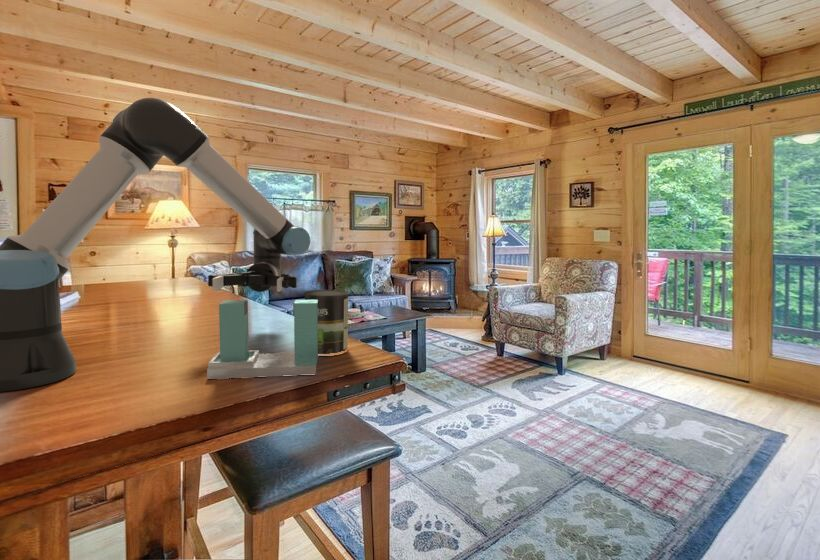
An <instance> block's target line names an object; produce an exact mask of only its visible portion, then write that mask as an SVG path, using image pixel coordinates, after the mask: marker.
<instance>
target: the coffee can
mask: <svg viewBox="0 0 820 560" xmlns="http://www.w3.org/2000/svg"><path fill="white" fill-rule="evenodd" d="M349 293H350V292H348V291H345V290H341V289H340V290H339V289H314V290H307V291H305V292H304V293H303V295H304V300H318V354H330V353H338V352H341V351H345V350H346V349H347V348H348V345H349V343H348V340H349V337H348V335H349V332H348V331H349V330H348V329H349ZM348 349H349V348H348Z"/></svg>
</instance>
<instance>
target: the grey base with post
mask: <svg viewBox="0 0 820 560" xmlns="http://www.w3.org/2000/svg"><path fill="white" fill-rule="evenodd" d="M292 304H293V305H292V307H293V309H292V311H293V314H292V315H293V326H294V329H293V330H294V334H293V335H294V337H293V338H294V340H293V341H294V347H293V348H294V352H271V353H269V352H268V353H260V350H259V349H258V350H254V349H253V350H249V358H248V360H247V361H221V362H220V350H219V351H217V353H215V355H214V356H213V357H212V358H211V359H210V361H208V364H207V365H208V366H207V367H208V368H206V376H207V377H206V379H217V380H232V379H231V378H242V377H258V376H283V375H301V374H316V375H317V368H316V366H318V361H319V360H318V359H319V356H318V300H305V299H295V300H294V301H293V303H292ZM229 378H230V379H229ZM242 379H243V378H242Z"/></svg>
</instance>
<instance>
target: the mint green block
mask: <svg viewBox="0 0 820 560" xmlns="http://www.w3.org/2000/svg"><path fill="white" fill-rule="evenodd" d="M218 319H219V323H218V324H219V351H220V362H221V361H247V360H248V358H249V351H250V350H249V348H250V347H249V343H250V342H249V340H250V338H249V335H250V334H249V301H248V299H245V300H243V299H241V300H238V299H237V300H235V299H234V300H233V299H232V300H229V299H228V300H227V299H226V300H225V299H224V300H223V301H221V302H220V303H219V304H218Z"/></svg>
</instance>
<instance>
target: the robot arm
mask: <svg viewBox="0 0 820 560" xmlns="http://www.w3.org/2000/svg"><path fill="white" fill-rule="evenodd" d="M97 139H98V144H99V149H98V151H97V152H96V153H95V154H94V155H93V156H92V157H91V158H90V159H89V160H88V161H87V163H86V164H84V166H83V167H82V168H81V169H80V170H79V171H78V172H77V173H76V175H75V176H74V177H73V178H72V179H71V180H70V181H69V182H68V184H66V186H65V187H64V188H63V189H62V190H61V191H60V192H59V194H58V195H57V196H56V197H55V198H54V199H53V200H52V201H51V203H50V204H48V206H47V207H46V208H45V209H44V211H42V212H41V213H40V215H39V216H38V217H37V218H36V219H35V220H34V222H32V224H31V225H30V226H29V227H28V228H27V229H26V230H25V231H24V232H23V233H21V234H18V235H16V234H15V235H11V236H7V237H6V239H5V240H3V242H1V244H0V392H10V391H18V390H19V391H20V390H25V389H30V388H36V387H40V386H46V385H48V384H49V385H50V384H53V383H55V382H59V381H62V380H64V379H67V378H68V377H71V376H73V375H74V374H75V373H76V371H77V363H76V358H75V356H74V355H73V353H72V350H71V348H70V346H69V344H68V341H66V337H65V336H64V334H63V326H62V313H61V312H62V311H61V297H60V283H59V282H60V281H61V280H62V278H63V277H64V276H65V274H66V273H67V272H68V271H69V270H70V264H69V260H68V259H69V257H70V255H71V254H72V253H73V252H74V251H75V250H76V248H77V247H79V245H80V244H81V242H83V240H84V239H85V238H86V237H87V235H88V234H89V233H90V232H91V231H92V230H93V228H94V227H95V226H96V225H97V223H98V222H99V221H100V220H101V219H102V218H103V216H104V215H105V214H106V213H107V211H108V210H109V209H110V208H111V207H112V206H113V204H115V202H116V201H117V200H118V198H120V196H121V195H122V194H123V193H124V192H125V190H126V189H127V188H128V187H129V186H130V185H131V183H132V182H133V180H134V179H136V177H137V176H138V175H145V174H147V175H149V173H150V172H151V171H152V170H153V169H154V167H155V166H156V165H157V164H158V163H159V161H160V160H161V159H162V158H163V157H165V158H167V159H169V160H170V161H171V162H172V163H173V164H175V166H176V167H184V168H185V169H187V170H188V171H189V172H190V173H191V174H193V175H194V176H195V177H196V178H197V179H198V180H199V181H201V183H202V184H203V185H205V186H206V187H207V188H208V189H209V190H211V192H213V193H214V194H215V195H216V196H217V197H219V198H220V200H222V201H223V202H224V203H225V204H226V205H228V206H229V207H230V208H231V209H232V210H233V211H234V212H236V214H238V215H239V216H240V217H241V218H242V219H243V220H245V222H247V223H248V225H250V226H251V227H252V228H253V232H252V234H253V265H251V266H250V267H248V268H247V270H246V271H245V272H243V271H242V272H239V273H238V274H237V273H236V272H229V273H224V274H223V273H222V274H209V275H207V287H212V291H218V290H219V291H220V290H221V289H223V288H224V287H228V286H229V287H230V286H239V287H248V288H249V290H251V291H253V292H256V293H263V292H266V291H268V290H270V289H271V288H273V287H276V292H282V290H283V289H287V288H292V289H296V288H297V285H298V284H297V281H298V280H297V277H296V276H291V275H290V274H285V273H283V270H282V267H281V262H282V261H281V257H282V255H288V256H300V255H304V254H305V253H306V252H307V251H308V250H309V248H310V245H311V236H310V233H309V232H308V231H307V230H306V229H305V228H303V227H300V226H298V225H294V224H293V223H292V222H291V221H290V220H289V219H287V217H285V216H284V214H282V213H281V212H280V211H279V210H278V209H277V208H276V207H275V205H273V204H272V203H271V202H270V201H269V200H268V199H267V198H266V197H265V196H264V195H263V194H261V192H260V191H259V190H257V189H256V188H255V187H254V186H253V185H252V184H251V183H250V182H249V181H248V180H247V179H246V178H245V177H244V176H243V175H242V174H241V173H240V172H239V171H238V170H237V169H236V168H235V167H234V166H233V165H232V164H231V163H230V162H228V160H227V159H225V158H224V157H223V156H222V155H221V153H220V152H219V151H217V149H215V148H214V147H213V146H212V145H211V144H210V137H209V136H208V135H207V134H206V133H205V131H203V129H201V128H200V127H199V126H198V125H197V124H196V123H195V122H194V121H193V120H192V119H190V117H188V116H187V115H186V114H185V113H184V112H182V111H181V110H180V109H179V108H178V107H176V106H175V105H173V104H171V103H169V102H168V101H166V100H163V99H160V98H156V97H144V98H140V99H137V100H135V101H134V102H132V103H131V104H130V105H129V106H128V107H127V108H124V109H122V110H121V111H120V112H118V113H117V114H116V115H115V116H114V118H113V120H112V122H111V123H110V124H109V125H108V127H106V129H105V130H104V131H103V132H102V133H101V134H100V135H99V137H98V138H97Z"/></svg>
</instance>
